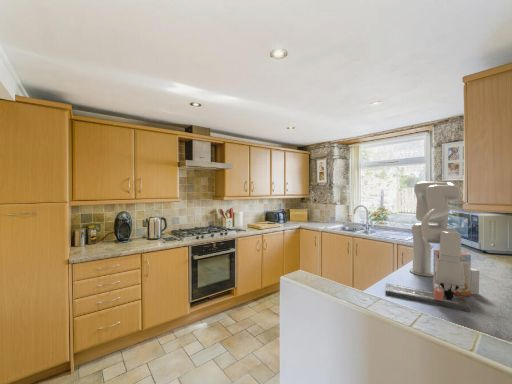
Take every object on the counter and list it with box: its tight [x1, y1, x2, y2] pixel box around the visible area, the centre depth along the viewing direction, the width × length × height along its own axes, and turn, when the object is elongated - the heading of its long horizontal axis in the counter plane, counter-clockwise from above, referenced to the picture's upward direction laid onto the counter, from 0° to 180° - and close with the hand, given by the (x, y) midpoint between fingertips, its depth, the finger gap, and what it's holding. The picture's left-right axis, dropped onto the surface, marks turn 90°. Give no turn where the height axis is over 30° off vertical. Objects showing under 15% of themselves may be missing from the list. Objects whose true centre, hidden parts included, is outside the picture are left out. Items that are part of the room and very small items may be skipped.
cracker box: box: [432, 249, 472, 297], centre depth 122 cm, size 14×6×21 cm, turn 71°
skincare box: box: [470, 267, 480, 295], centre depth 124 cm, size 6×4×12 cm
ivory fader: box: [434, 283, 444, 291], centre depth 115 cm, size 4×3×4 cm
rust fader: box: [433, 288, 444, 301], centre depth 110 cm, size 4×3×4 cm
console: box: [385, 283, 471, 313], centre depth 115 cm, size 11×32×2 cm, turn 60°
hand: (448, 298), depth 108 cm, fingers closed
